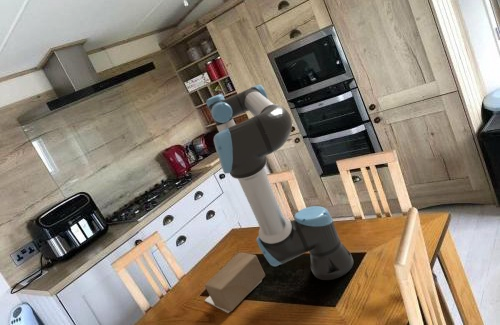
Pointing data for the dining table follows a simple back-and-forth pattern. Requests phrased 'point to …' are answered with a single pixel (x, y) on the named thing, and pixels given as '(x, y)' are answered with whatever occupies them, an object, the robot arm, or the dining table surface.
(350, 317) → the dining table surface
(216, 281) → the wooden block
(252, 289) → the grey mat
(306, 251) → the robot arm
